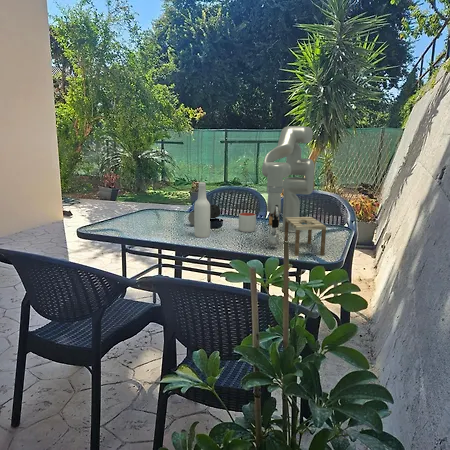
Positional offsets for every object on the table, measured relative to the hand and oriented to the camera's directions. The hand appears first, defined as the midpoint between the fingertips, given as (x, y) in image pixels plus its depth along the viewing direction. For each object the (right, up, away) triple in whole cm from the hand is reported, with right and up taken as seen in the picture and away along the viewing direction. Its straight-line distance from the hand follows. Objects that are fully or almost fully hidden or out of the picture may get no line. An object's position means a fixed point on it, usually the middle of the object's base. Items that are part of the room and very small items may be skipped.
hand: (273, 225), depth 197 cm
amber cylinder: (0, -9, +2) cm, 10 cm away
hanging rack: (+15, -12, +1) cm, 19 cm away
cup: (-11, -3, +39) cm, 41 cm away
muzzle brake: (-37, +1, +60) cm, 71 cm away
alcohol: (-37, -6, +26) cm, 46 cm away
